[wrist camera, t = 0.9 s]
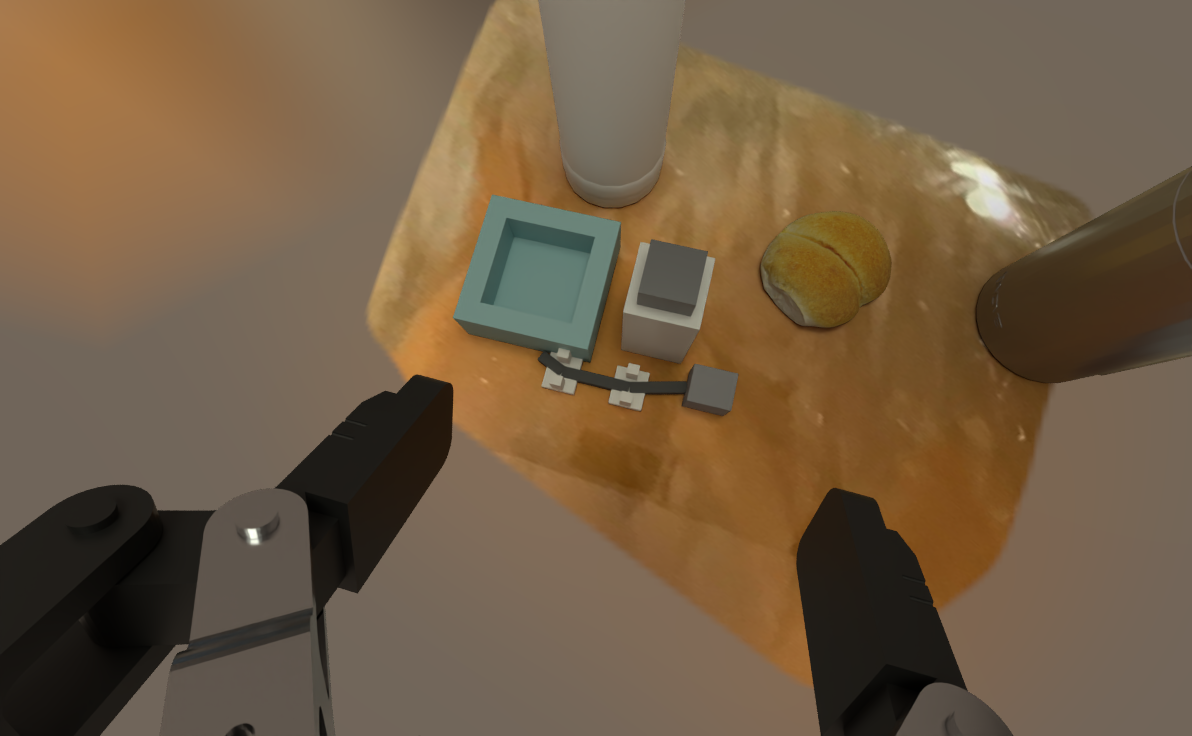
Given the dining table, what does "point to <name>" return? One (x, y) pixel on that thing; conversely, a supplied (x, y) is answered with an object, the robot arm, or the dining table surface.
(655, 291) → the block
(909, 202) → the dining table surface
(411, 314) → the dining table surface
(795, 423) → the dining table surface
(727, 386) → the cable run
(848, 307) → the bread roll
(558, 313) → the end socket
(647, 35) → the bottle
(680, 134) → the dining table surface
